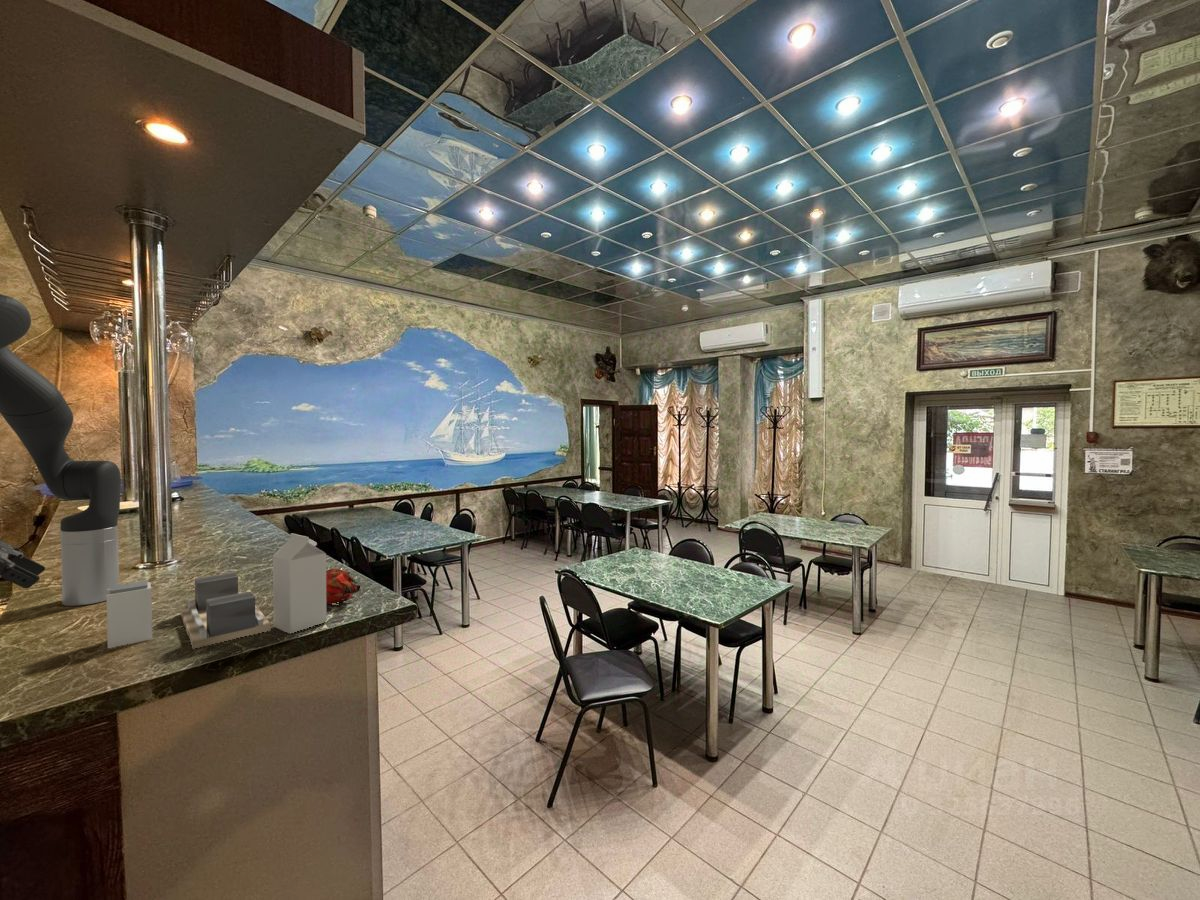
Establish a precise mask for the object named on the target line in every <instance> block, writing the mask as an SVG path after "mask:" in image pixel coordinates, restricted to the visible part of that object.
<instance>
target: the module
mask: <svg viewBox="0 0 1200 900" xmlns="http://www.w3.org/2000/svg"><path fill="white" fill-rule="evenodd" d="M106 597H107V600H106V630H107V631H106V633H107V634H106V636H107V640H106V641H107V649H108V648H110V649H112V648H111V647H114V648H117V647H116V646H119V647H122V646H121V645H123V646H127V644H128V645H132V644H136V643H141V642H145V641H150V640H153V613H152V612H153V611H152V610H153V606H152V604H153V603H152V597H153V596H152V585H151V582H148V581H147V580H141V581H136V582H128V583H122V584H119V585H115V586H110V589H107V595H106Z"/></svg>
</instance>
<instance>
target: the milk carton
mask: <svg viewBox="0 0 1200 900" xmlns="http://www.w3.org/2000/svg"><path fill="white" fill-rule="evenodd" d="M317 545H318V543H317V542H316V541H314V540H313V539H311V538H309V536H306V535H300V534H297V533H291V532H290V538H289V539H288V540H287V541H286V542H285V543H284V544H283V545H282V546H281V547H280V548H279V549H278V550H277V551H276V552H275V553H274V554H273V555H272V585H273V586H272V595H273V596H272V597H273V599H272V600H273V608H272V609H273V628H276V629H278V630H280V631H282V632H285V633H286V632H287V633H286V634H289V633H290V634H289V635H292V634H291V633H293V634H295V633H294V632H296V633H298V632H297V631H299V632H301V631H300V630H302V631H304V630H303V629H305V630H307V629H306V628H308V629H310V628H309V627H311V628H313V627H312V626H314V625H317V624H319V623H322V622H325V621H326V622H327V601H326V571H327V553H326V552H325V551H323V550H322V549H320V548H318V547H316V546H317ZM314 627H315V626H314Z"/></svg>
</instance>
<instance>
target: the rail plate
mask: <svg viewBox="0 0 1200 900" xmlns="http://www.w3.org/2000/svg"><path fill="white" fill-rule="evenodd" d="M194 598H195V599H194V600H195V603H194V600H192V599H191V600H188V601H187V606H183V607H180V608H179V610H180V616H181V617H180V618H181V619H182V623H183V625H184V628H186V629H185V632H186V634H187V637H188V636H189V637H188V639H190V640H189V642H191V643H190V645H192V646H191V648H192V650H193V649H194V650H196V649H195V648H198V649H200V648H199V647H202V646H206V647H208V646H207V645H210V646H212V645H211V644H214V645H216V644H215V643H218V644H221V643H220V642H222V643H225V642H224V641H227V642H229V641H228V640H231V641H233V640H232V639H235V640H237V639H236V638H239V639H241V638H240V637H243V638H245V637H244V636H247V637H250V636H249V635H251V636H254V634H255V635H258V633H260V634H263V633H262V632H264V633H267V631H268V632H271V631H272V630H271V629H272V628H271V627H272V624H271V622H270V621H269V620H268V618H267V617H266V615H264V614H263V612H262V611H261V610H260V608H259V607H258V606H257V605H256V597H255V595H254V594H253V593H252V592H251V591H245V592H242V590H240V591H239V576H238V575H237V574H236V573H235V571H233V572H227V573H221V574H215V575H209V576H201V577H197V578H196V577H195V579H194ZM202 648H203V647H202Z"/></svg>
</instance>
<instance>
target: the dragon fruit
mask: <svg viewBox="0 0 1200 900" xmlns="http://www.w3.org/2000/svg"><path fill="white" fill-rule="evenodd" d="M350 573H351V572H350V571H348V570H343V569H341V568H338V567H334V568H328V569H326V603H327V604H329V605H331V604H332V603H336V604H341V603H337V602H339V601H340V602H341V601H345V599H346V600H347V601H348V600H350V599H351V598H352V597H353V594H355V593H358V592H359V591H361V590H360V589H361V585H360V584H359V585H356V584H358V582H356V581H355V578H354V577H353V576H352V575H350Z"/></svg>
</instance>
